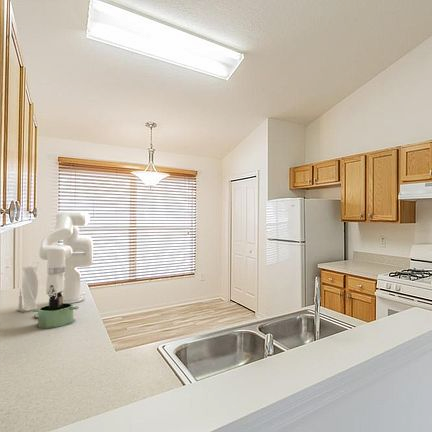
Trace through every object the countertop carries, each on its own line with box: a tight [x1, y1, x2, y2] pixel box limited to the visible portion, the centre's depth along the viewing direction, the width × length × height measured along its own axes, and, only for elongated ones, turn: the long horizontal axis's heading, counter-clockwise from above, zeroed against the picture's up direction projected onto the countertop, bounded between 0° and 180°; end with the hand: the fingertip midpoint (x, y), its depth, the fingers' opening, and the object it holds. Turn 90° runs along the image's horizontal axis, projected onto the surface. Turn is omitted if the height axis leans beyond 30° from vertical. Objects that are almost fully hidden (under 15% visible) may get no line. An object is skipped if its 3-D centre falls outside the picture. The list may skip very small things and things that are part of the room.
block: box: [48, 295, 63, 308], centre depth 165 cm, size 5×5×5 cm
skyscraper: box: [17, 261, 40, 313], centre depth 189 cm, size 8×8×28 cm
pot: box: [32, 303, 80, 329], centre depth 165 cm, size 15×20×8 cm
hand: (56, 305), depth 165 cm, fingers closed on block, 4 cm apart
